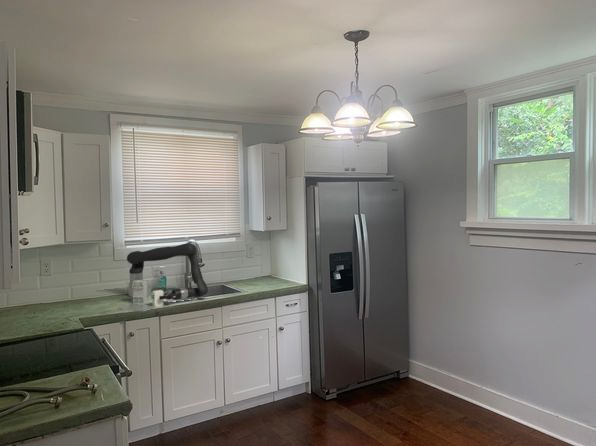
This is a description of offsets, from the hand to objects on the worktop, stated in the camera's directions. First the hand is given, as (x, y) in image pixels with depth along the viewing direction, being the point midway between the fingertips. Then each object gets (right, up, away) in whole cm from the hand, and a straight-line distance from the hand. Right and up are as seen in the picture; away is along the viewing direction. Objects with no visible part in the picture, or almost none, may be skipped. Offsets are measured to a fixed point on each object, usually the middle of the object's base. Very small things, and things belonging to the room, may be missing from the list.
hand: (157, 296), depth 301 cm
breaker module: (0, -6, +1) cm, 6 cm away
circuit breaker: (-15, -6, +14) cm, 21 cm away
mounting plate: (-11, -6, -7) cm, 14 cm away
